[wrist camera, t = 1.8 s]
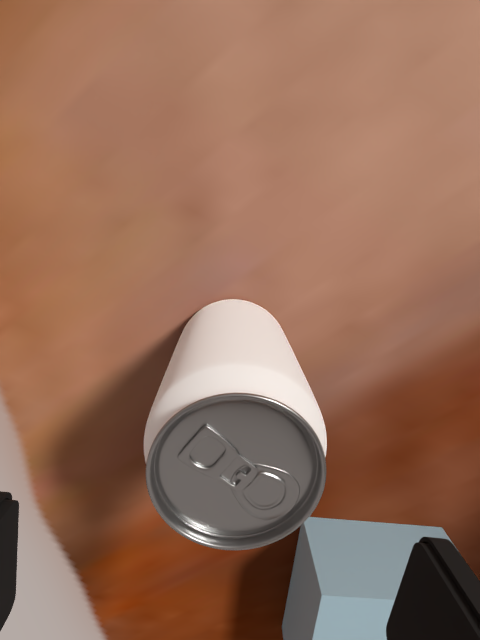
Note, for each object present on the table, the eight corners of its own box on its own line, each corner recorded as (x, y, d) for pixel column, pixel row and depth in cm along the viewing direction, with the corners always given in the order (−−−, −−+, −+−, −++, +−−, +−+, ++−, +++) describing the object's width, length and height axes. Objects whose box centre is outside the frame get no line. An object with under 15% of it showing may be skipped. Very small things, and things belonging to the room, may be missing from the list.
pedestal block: (440, 525, 28) (496, 606, 22) (408, 631, 30) (451, 730, 24) (302, 514, 27) (322, 595, 21) (281, 623, 30) (294, 723, 24)
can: (240, 417, 25) (250, 592, 13) (157, 357, 24) (89, 492, 12) (307, 341, 24) (383, 461, 12) (224, 274, 22) (219, 336, 11)
